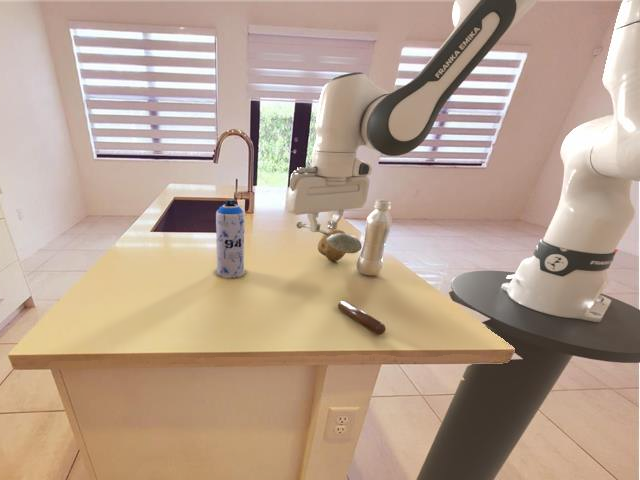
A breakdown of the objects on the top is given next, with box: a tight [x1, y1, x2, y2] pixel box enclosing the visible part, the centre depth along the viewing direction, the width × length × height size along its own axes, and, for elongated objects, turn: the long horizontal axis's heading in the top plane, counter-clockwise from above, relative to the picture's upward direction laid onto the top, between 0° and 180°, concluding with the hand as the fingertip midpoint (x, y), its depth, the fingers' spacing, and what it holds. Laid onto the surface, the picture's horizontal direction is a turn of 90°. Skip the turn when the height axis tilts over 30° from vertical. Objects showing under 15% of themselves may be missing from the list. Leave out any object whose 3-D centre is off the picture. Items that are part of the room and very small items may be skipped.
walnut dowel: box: [337, 299, 387, 335], centre depth 66 cm, size 2×12×2 cm, turn 26°
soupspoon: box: [295, 221, 363, 254], centre depth 73 cm, size 22×3×7 cm
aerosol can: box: [215, 199, 246, 279], centre depth 84 cm, size 8×8×20 cm
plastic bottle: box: [356, 199, 393, 276], centre depth 84 cm, size 6×7×20 cm
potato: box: [317, 229, 346, 263], centre depth 95 cm, size 9×9×10 cm
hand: (323, 230), depth 73 cm, fingers closed on soupspoon, 3 cm apart
